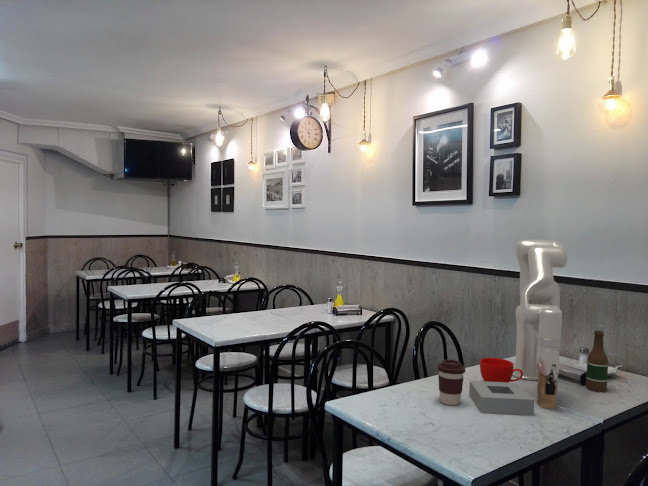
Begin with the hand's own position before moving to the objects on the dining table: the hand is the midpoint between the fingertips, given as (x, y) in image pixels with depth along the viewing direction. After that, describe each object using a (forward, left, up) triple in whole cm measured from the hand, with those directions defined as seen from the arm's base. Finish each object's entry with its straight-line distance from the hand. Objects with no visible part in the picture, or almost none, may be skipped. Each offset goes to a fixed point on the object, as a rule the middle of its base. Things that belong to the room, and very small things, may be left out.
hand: (546, 391), depth 181 cm
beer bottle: (-22, +28, -6) cm, 36 cm away
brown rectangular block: (0, 0, -5) cm, 5 cm away
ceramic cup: (-19, -11, -6) cm, 23 cm away
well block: (+1, -17, -5) cm, 18 cm away
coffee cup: (+1, -35, -6) cm, 35 cm away
